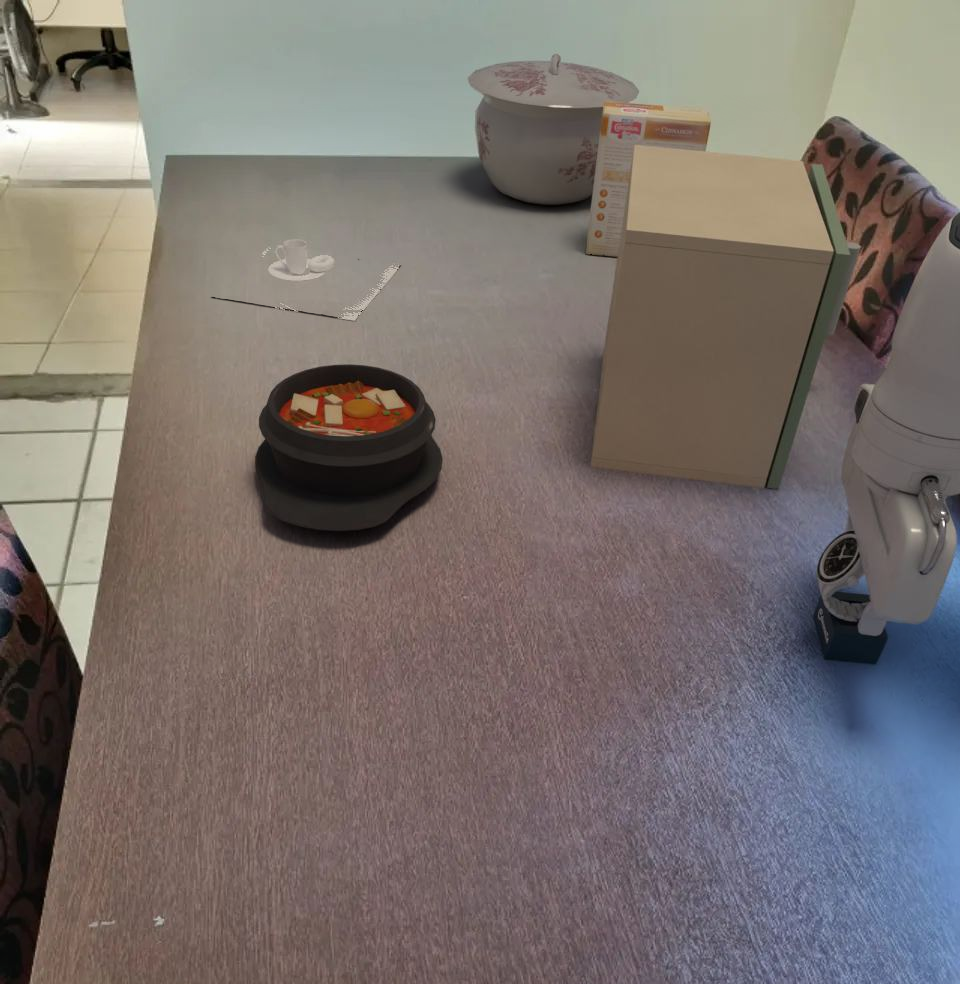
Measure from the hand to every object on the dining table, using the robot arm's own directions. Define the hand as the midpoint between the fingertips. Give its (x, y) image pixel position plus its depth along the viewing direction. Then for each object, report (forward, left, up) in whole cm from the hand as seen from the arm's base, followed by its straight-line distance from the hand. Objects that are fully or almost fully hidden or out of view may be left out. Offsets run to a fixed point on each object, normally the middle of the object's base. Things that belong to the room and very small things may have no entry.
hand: (858, 591), depth 80 cm
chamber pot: (+36, -109, -6) cm, 115 cm away
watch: (0, 0, -6) cm, 6 cm away
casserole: (+47, -16, -6) cm, 50 cm away
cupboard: (+14, -36, -5) cm, 39 cm away
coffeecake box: (+20, -86, -6) cm, 88 cm away
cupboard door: (+1, -36, -5) cm, 36 cm away
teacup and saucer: (+64, -62, -6) cm, 89 cm away
